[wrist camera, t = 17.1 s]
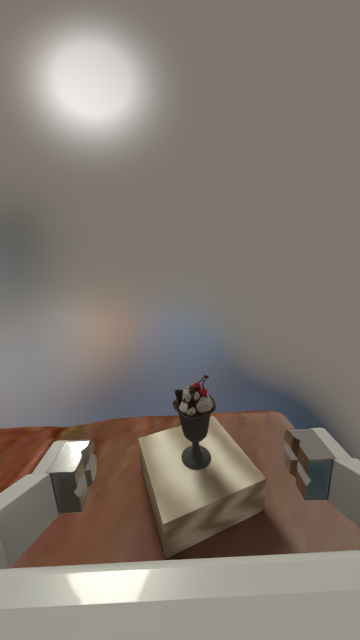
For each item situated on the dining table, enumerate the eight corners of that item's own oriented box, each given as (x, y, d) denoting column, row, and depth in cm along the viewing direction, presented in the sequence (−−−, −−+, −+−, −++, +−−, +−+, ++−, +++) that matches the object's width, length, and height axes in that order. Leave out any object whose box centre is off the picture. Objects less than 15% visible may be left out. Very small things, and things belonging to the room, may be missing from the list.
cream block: (165, 559, 30) (163, 524, 29) (140, 464, 45) (138, 438, 43) (264, 510, 36) (265, 478, 34) (213, 440, 50) (213, 416, 49)
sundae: (224, 462, 37) (225, 378, 34) (189, 481, 34) (185, 391, 31) (201, 436, 43) (200, 362, 40) (169, 451, 40) (164, 372, 36)
